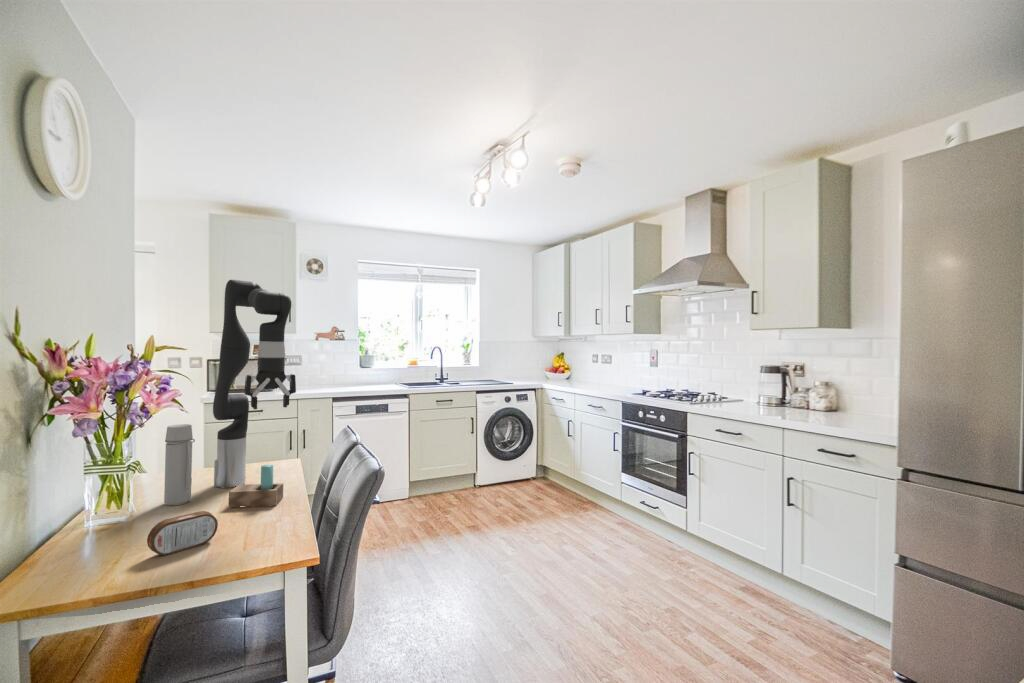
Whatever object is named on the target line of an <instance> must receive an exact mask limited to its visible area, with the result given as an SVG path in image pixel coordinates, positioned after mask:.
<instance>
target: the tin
mask: <svg viewBox="0 0 1024 683" xmlns="http://www.w3.org/2000/svg"><path fill="white" fill-rule="evenodd" d="M218 525H219V524H218V519H217V518H216V516H214V515H213V514H212V513H211V512H209V511H206V510H201V511H196V512H195V511H194V512H191V513H187V514H183V515H179V516H173V517H169V518H165V519H163V520H160V522H157V524H155V525H154V526H153V527H152V528H151V530H150V531H149V532H148V535H147V539H146V543H147V547H148V548H149V549H150V551H152V552H154V553H155V554H157V555H161V556H167V555H166V554H168V555H171V553H172V554H175V553H178V551H179V552H181V551H185V549H186V550H189V549H192V548H196V547H199V545H200V546H203V545H205V544H207V543H208V542H209V541H210V540H212V538H213V537H214V536H215V535H216V533H217V531H218ZM174 552H175V553H174Z"/></svg>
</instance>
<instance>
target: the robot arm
mask: <svg viewBox="0 0 1024 683" xmlns="http://www.w3.org/2000/svg"><path fill="white" fill-rule="evenodd" d="M237 307H245V308H253V309H254V311H255V312H256V313H257V314H259V315H266V316H267V315H268V316H269V315H270V316H276V318H275V319H274V321H268V322H262V323H261V324H260V325H259V334H258V335H259V336H258V337H259V338H258V339H259V340H258V341H259V342H258V348H257V373H256V375H250V374H247V375H245V379H244V389H243V390H244V391H243V393H233V394H229V392H230V389H231V388H232V385H233V383H234V381H235V379H236V378H237V377H238V376H239V374H241V372H242V371H243V370H244V369H245V367H246V366H247V364H248V362H249V360H250V354H251V353H250V352H251V351H250V350H251V341H250V338H249V336H248V335H247V333H246V332H245V330H244V329H243V326H242V325H241V323H240V321H239V318H238V316H237V311H236V310H237ZM291 309H292V300H291V298H290V296H289V295H288V294H287V293H284V292H283V293H282V292H271V291H269V290H267V289H264V288H263V287H262V285H260V284H258V283H256V282H253V281H247V280H240V279H229V280H228V281H227V282H226V284H225V288H224V307H223V311H224V312H223V327H222V328H223V329H222V335H221V341H220V348H219V350H220V352H219V365H218V375H217V376H218V377H217V383H216V387H215V392H214V398H213V402H212V404H213V405H212V414H213V417H214V419H215V420H217V421H229V420H230V421H231V420H233V421H232V423H231V424H229V425H227V426H226V427H224V428H221V429H219V430H218V431H217V435H216V436H217V439H216V440H217V443H216V445H217V446H216V447H217V448H216V459H215V460H214V464H213V465H214V469H213V488H220V487H222V488H221V489H223V488H224V489H225V487H226V488H227V487H229V488H235V486H238V485H245V484H244V483H246V470H247V469H246V467H247V464H246V461H247V460H246V458H247V432H248V423H249V413H250V406H251V408H252V409H253V410H258V397H257V396H258V395H259V393H260V392H262V391H263V389H264V390H269V389H270V390H271V389H276V390H277V389H279V390H280V391H281V392H282V394H283V397H282V398H283V399H282V407H283V408H288V406H289V405H290V396H291V395H292V394H296V392H297V388H296V387H297V384H296V375H295V374H293V373H292V374H291V373H290V374H285V363H286V362H285V361H286V359H285V358H286V346H285V329H286V324H287V320H288V318H289V316H290V315H289V314H290V311H291ZM255 380H256V382H257V383H258V384H257V385H256V386H255V388H254V389H253V390H252V389H251V387H252V383H253V382H255ZM286 380H287V382H289V389H287V387H286V386H285V385H284V382H285V381H286ZM251 390H252V391H251ZM249 397H250V402H249Z"/></svg>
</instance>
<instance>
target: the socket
mask: <svg viewBox="0 0 1024 683" xmlns="http://www.w3.org/2000/svg"><path fill="white" fill-rule="evenodd" d="M282 498H283V499H284V483H283V482H282V483H273V489H271V490H261V483H256V484H255V483H253V484H243V485H238V486H236V487H233V488H232V489H231V490H230V491H229V492H228V507H239V508H241V507H240V506H263V507H270V506H269V505H272V506H271V507H276V506H277V505H279V504H280V502H281V501H282V500H283V499H282ZM273 505H274V506H273ZM275 505H276V506H275Z"/></svg>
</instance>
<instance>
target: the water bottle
mask: <svg viewBox="0 0 1024 683" xmlns="http://www.w3.org/2000/svg"><path fill="white" fill-rule="evenodd" d="M192 425H193V424H189V423H188V424H187V423H181V424H171V425H167V427H166V432H165V438H164V442H165V454H164V455H165V456H164V457H165V459H164V460H165V461H164V463H165V464H164V492H163V493H164V495H163V496H164V498H163V502H164V504H165V505H166V506H170V505H175V506H181V505H184V503H185V504H187V503H188V502H190V500H191V498H192V483H193V481H192V469H193V468H192V466H193V464H192V463H193V443H194V442H195V439H194V438H193V429H192V428H193V426H192ZM180 504H181V505H180Z"/></svg>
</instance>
